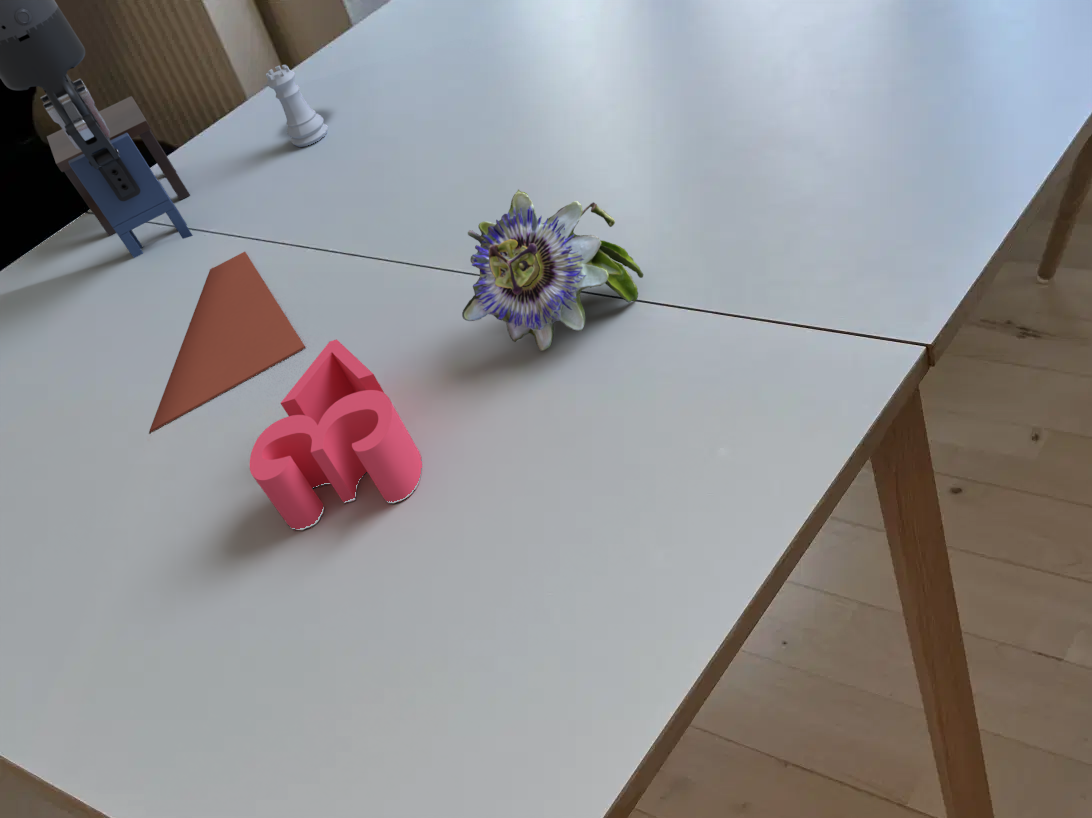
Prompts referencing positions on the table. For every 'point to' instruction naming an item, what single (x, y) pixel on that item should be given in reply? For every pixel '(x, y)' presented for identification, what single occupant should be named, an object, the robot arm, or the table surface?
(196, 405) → the flat trapezoid
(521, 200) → the passion flower
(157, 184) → the chair
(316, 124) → the rook chess piece
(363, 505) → the table surface
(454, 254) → the table surface
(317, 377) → the letters
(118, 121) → the side table
